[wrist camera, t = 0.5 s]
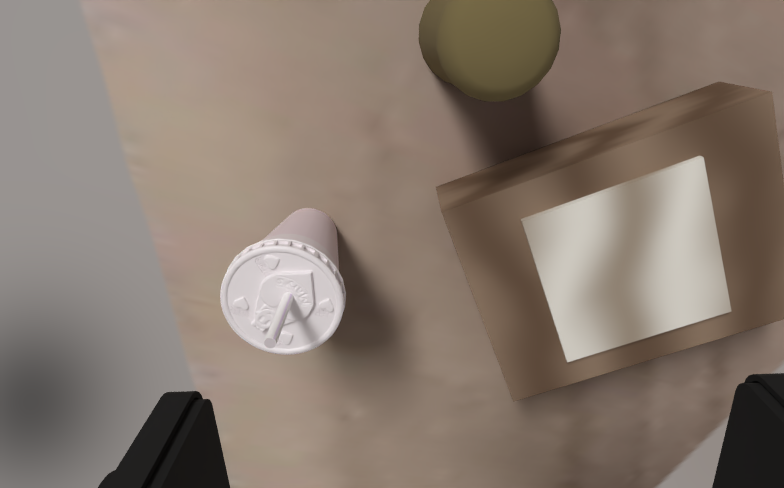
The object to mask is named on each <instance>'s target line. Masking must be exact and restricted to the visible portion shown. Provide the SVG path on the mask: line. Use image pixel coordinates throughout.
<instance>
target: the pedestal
mask: <svg viewBox="0 0 784 488" xmlns="http://www.w3.org/2000/svg"><path fill="white" fill-rule="evenodd" d="M436 190H437V194H438V198H439V203H440V207H441V211H442V214H443V217H444V220H445V222H446V225H447V227H448V230H449V233H450V235H451V238H452V241H453V243H454V246H455V249H456V251H457V254H458V256H459V259H460V262H461V264H462V267H463V270H464V272H465V275H466V278H467V280H468V283H469V286H470V288H471V291H472V293H473V296H474V299H475V301H476V304H477V307H478V309H479V312H480V315H481V317H482V320H483V322H484V325H485V328H486V330H487V333H488V336H489V338H490V341H491V344H492V346H493V349H494V351H495V354H496V357H497V359H498V362H499V365H500V367H501V370H502V373H503V375H504V378H505V380H506V383H507V386H508V388H509V391H510V394H511V396H512V399H513V402H514V401H517V400H520V399H524V398H527V397H530V396H534V395H537V394H540V393H543V392H547V391H550V390H553V389H556V388H560V387H563V386H566V385H570V384H573V383H576V382H579V381H583V380H586V379H589V378H593V377H596V376H599V375H602V374H606V373H609V372H612V371H616V370H619V369H622V368H625V367H629V366H632V365H635V364H638V363H642V362H645V361H648V360H652V359H655V358H658V357H661V356H665V355H668V354H671V353H675V352H678V351H681V350H684V349H688V348H691V347H694V346H698V345H701V344H704V343H707V342H711V341H714V340H717V339H721V338H724V337H727V336H730V335H734V334H737V333H740V332H743V331H747V330H750V329H753V328H757V327H760V326H763V325H766V324H770V323H773V322H776V321H780V320H783V319H784V182H783V174H782V166H781V159H780V151H779V143H778V135H777V127H776V119H775V112H774V104H773V96H772V92H770V91H765V90H759V89H754V88H749V87H744V86H739V85H734V84H728V83H723V82H717V83H714V84H711V85H709V86H706V87H703V88H701V89H698V90H695V91H693V92H690V93H687V94H685V95H682V96H679V97H677V98H674V99H671V100H669V101H666V102H663V103H661V104H658V105H655V106H652V107H650V108H647V109H644V110H642V111H639V112H636V113H634V114H631V115H628V116H626V117H623V118H620V119H618V120H615V121H612V122H610V123H607V124H604V125H601V126H599V127H596V128H593V129H591V130H588V131H585V132H583V133H580V134H577V135H575V136H572V137H569V138H567V139H564V140H561V141H559V142H556V143H553V144H551V145H548V146H545V147H542V148H540V149H537V150H534V151H532V152H529V153H526V154H524V155H521V156H518V157H516V158H513V159H510V160H508V161H505V162H502V163H500V164H497V165H494V166H491V167H489V168H486V169H483V170H481V171H478V172H475V173H473V174H470V175H467V176H465V177H462V178H459V179H457V180H454V181H451V182H449V183H446V184H443V185H441V186H438V187H436Z"/></svg>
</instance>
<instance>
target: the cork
mask: <svg viewBox="0 0 784 488" xmlns="http://www.w3.org/2000/svg"><path fill="white" fill-rule="evenodd" d="M560 34H561V28H560V22H559V17H558V11H557V9H556V7H555V5H554V3H553V1H552V0H430V1H429V2H428V4H427V5H426V7H425V9H424V12H423V15H422V18H421V21H420V24H419V44H420V48H421V51H422V55H423V58H424V60H425V61H426V63H427V64H428V66H429V67H430V69H431V70H432V72H433V73H435V74H436V75H437V76H438V77H440V78H441V79H442V80H443V81H445V82H448V83H451V84H453V85H455V86H456V87H457V88H458V89H460V90H461V91H462V92H463V93H465V94H466V95H468V96H470V97H473V98H476V99H479V100H482V101H506V100H509V99H512V98H515V97H519V96H521V95H523V94H524V93H526V92H527V91H529V90H530V89H531V88H533V87H534V86H536V85H537V84H538V83H539V82H540V81H541V80H542V79H543V77H544V76H545V75H546V74H547V72H548V71H549V70H550V69H551V67H552V64H553V62H554V60H555V57H556V55H557V52H558V50H559V42H560Z"/></svg>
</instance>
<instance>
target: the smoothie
mask: <svg viewBox="0 0 784 488" xmlns="http://www.w3.org/2000/svg"><path fill="white" fill-rule="evenodd" d="M220 300H221V306H222V310H223V313H224V316H225V318H226V320H227V321H228V323H229V325H230V326H231V328H232V329H233V330H234V331H235V332H236V333H237V334H238V335H239V336H240V337H241V338H242V339H243V340H245V341H246V342H247V343H249V344H251V345H252V346H254V347H256V348H258V349H261V350H264V351H267V352H270V353H275V354H298V353H303V352H307V351H309V350H312V349H314V348H316V347H318V346H320V345H321V344H323V343H324V342H325V341H327V340H328V339H329V338H330V337H331V336H332V335H333V333H334V332H335V331H336V329H337V327H338V325H339V323H340V321H341V318H342V314H343V311H344V309H345V300H346V291H345V287H344V282H343V278H342V277H341V275H340V273H339V260H338V240H337V229H336V226H335V224H334V222H333V221H332V219H331V218H330V217H329V216H328V215H327V214H325V213H324V212H322V211H320V210H317V209H313V208H303V209H299V210H297V211H295V212H293V213H292V214H290V215H289V216H288V217H287V218H286V219H285V220H284V221H283V222H282V223H281V224H279V225H278V226H277V227H276V228H275V229H274V230H273V231H272V232H271V233H270V234H269V235H268V236H266V237H265V238H264V239H263V240H262V241H260V242H258V243H255V244H253V245H251V246H248V247H247V248H246V249H244V250H243V251H242V252H241V253H240V254H238V255H237V256H236V257H235V258H234V260H233V262H232V263H231V265H230V266H229V268H228V269H227V272H226V274H225V276H224V279H223V282H222V285H221V292H220Z"/></svg>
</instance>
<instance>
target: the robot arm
mask: <svg viewBox="0 0 784 488" xmlns="http://www.w3.org/2000/svg"><path fill="white" fill-rule="evenodd" d="M98 488H230V485H229V480H228V476H227V471H226V466H225V462H224V457H223V452H222V448H221V443H220V439H219V434H218V429H217V425H216V420H215V415H214V411H213V406H212V403H211V401H210V400H209V399H203V398H202V395H201V394H200V393H199V392H197V391H190V392H167V393H165V394H163V396H162V397H161V398H160V400H159V401H158V403H157V405H156V406H155V408H154V410H153V411H152V413H151V415H150V416H149V417H148V419H147V421H146V422H145V424H144V425H143V427H142V429H141V430H140V432H139V433H138V435H137V437H136V438H135V440H134V442H133V443H132V445H131V446H130V448H129V450H128V451H127V453H126V454H125V456H124V458H123V459H122V461H121V462H120V464H119V466H118V467H117V469H116V470H115V471H113V472H111V473H109V474H108V475H107V476H106V477H105V478H104V480H103V481H102V482H101V484H100V485H99V487H98ZM712 488H784V373H781V374H753V375H749V376H748V377H747V378H746V380H745V382H744V383H741V384H739V385H738V386H737V388H736V391H735V395H734V399H733V404H732V408H731V412H730V416H729V420H728V425H727V429H726V433H725V437H724V442H723V446H722V449H721V454H720V458H719V462H718V466H717V471H716V475H715V479H714V483H713V487H712Z"/></svg>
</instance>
